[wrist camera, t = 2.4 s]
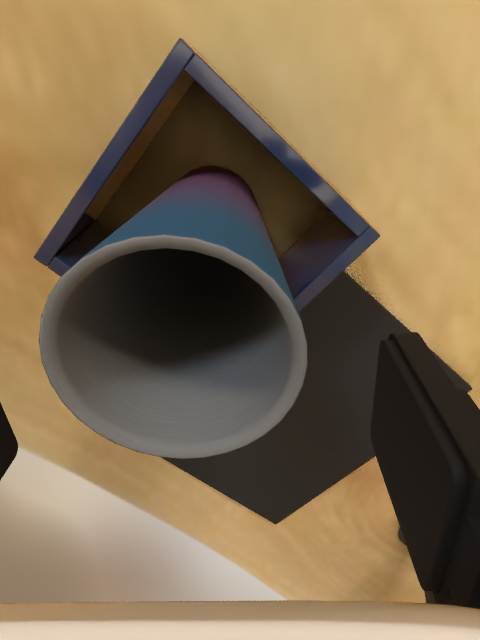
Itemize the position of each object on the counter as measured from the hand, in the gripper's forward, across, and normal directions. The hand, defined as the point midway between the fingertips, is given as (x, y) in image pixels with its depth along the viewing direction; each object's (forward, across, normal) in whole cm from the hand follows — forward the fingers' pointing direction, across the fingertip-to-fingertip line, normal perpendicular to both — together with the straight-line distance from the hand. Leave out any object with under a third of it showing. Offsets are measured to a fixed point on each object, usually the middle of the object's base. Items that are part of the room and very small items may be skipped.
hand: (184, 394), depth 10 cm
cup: (+16, +1, 0) cm, 16 cm away
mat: (+16, -4, +15) cm, 22 cm away
